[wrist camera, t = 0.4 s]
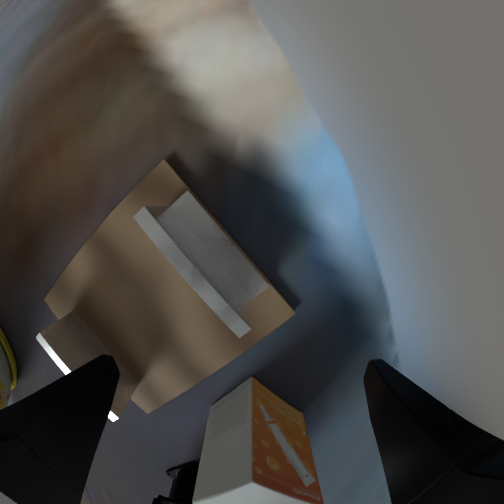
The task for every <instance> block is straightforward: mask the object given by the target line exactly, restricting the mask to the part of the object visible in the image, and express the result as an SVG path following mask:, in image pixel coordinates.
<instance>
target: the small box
mask: <svg viewBox="0 0 504 504" xmlns="http://www.w3.org/2000/svg"><path fill="white" fill-rule="evenodd" d="M192 503H193V504H324V503H323V499H322V495H321V490H320V486H319V481H318V477H317V472H316V468H315V463H314V459H313V455H312V450H311V446H310V442H309V438H308V433H307V429H306V424H305V420H304V416H303V413H301V412H300V411H298V410H296V409H295V408H293V407H292V406H290V405H289V404H287V403H286V402H285V401H283V400H282V399H281V398H279V397H278V396H276V395H275V394H274V393H272V392H271V391H270V390H269V389H267V388H266V387H265V386H263V385H262V384H261V383H260V382H258V381H257V380H256V379H255V378H254V377H250V378H248V379H247V380H246V381H245V382H243V383H242V384H241V385H239V386H238V387H237V388H235V389H234V390H233V391H231V392H230V393H228V394H227V395H226V396H224V397H223V398H221V399H220V400H219V401H217V402H216V403H214V404H213V405H212V406H211V407H210V412H209V417H208V422H207V427H206V432H205V437H204V443H203V449H202V454H201V459H200V464H199V469H198V475H197V480H196V486H195V491H194V496H193V500H192Z"/></svg>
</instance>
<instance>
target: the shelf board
mask: <svg viewBox="0 0 504 504" xmlns="http://www.w3.org/2000/svg"><path fill="white" fill-rule="evenodd" d="M187 190H188V191H189V192H190V193H191V194H192V195H193V196H194V198H195V199H196V200H197V201H198V202H199V203H200V205H201V206H202V207H203V208H204V209H205V211H206V212H207V213H208V214H209V215H210V216H211V218H212V219H213V220H214V221H215V222H216V223H217V225H218V226H219V227H220V228H221V229H222V230H223V232H224V233H225V234H226V235H227V236H228V237H229V239H230V240H231V241H232V242H233V243H234V245H235V246H236V247H237V248H238V249H239V250H240V252H241V253H242V254H243V255H244V256H245V257H246V258H247V260H248V261H249V262H250V263H251V264H252V265H253V267H254V268H255V269H256V270H257V271H258V272H259V274H260V275H261V276H262V277H263V278H264V279H265V281H266V282H267V283H268V284H269V287H267V288H266V289H265V290H264V291H262V292H261V293H260V294H259V295H257V296H256V297H255V298H254V299H252V300H251V330H250V331H249V332H247V333H246V334H245V335H243V336H242V337H240V338H238V336H237V335H236V334H235V333H234V332H233V331H232V330H231V329H230V328H229V327H228V326H227V325H226V324H225V323H224V322H223V321H222V320H221V319H220V318H219V317H218V316H217V315H216V313H215V312H214V311H213V310H212V309H211V308H210V307H209V306H208V305H207V304H206V303H205V302H204V300H203V299H202V298H201V297H200V296H199V295H198V294H197V293H196V292H195V290H194V289H193V288H192V287H191V286H190V285H189V284H188V283H187V281H186V280H185V279H184V278H183V277H182V276H181V275H180V273H179V272H178V271H177V270H176V269H175V268H174V267H173V265H172V264H171V263H170V262H169V261H168V259H167V258H166V257H165V256H164V255H163V254H162V252H161V251H160V250H159V249H158V248H157V246H156V245H155V244H154V243H153V241H152V240H151V239H150V238H149V237H148V235H147V234H146V233H145V232H144V230H143V229H142V228H141V227H140V225H139V224H138V223H137V222H136V220H135V219H134V218H133V217H134V216H135V215H136V214H137V213H138V212H139V211H140V210H141V209H142V208H143V207H144V206H171V205H172V204H173V203H174V202H175V201H177V200H178V199H179V198H180V197H181V196H182V195H183V194H184V193H185V192H186V191H187ZM44 300H45V302H46V303H47V305H48V306H49V307H50V309H51V310H52V312H53V313H54V314H55V316H56V317H57V318H58V320H59V319H61V318H63V317H64V316H66V315H67V314H69V313H70V312H72V311H75V312H76V313H77V314H78V316H79V317H80V318H81V319H82V321H83V322H84V323H85V324H86V326H87V327H88V328H89V329H90V330H91V332H92V333H93V334H94V335H95V336H96V337H97V339H98V340H99V341H100V342H101V343H102V344H103V345H104V347H105V348H106V349H107V350H108V351H109V352H110V353H111V354H112V355H113V356H114V357H115V358H116V360H117V361H118V362H119V363H120V364H121V365H122V366H123V367H124V368H125V369H126V370H127V371H128V372H129V373H130V374H131V375H132V376H133V377H134V378H135V379H136V380H137V381H139V382H140V383H139V385H138V386H137V388H136V390H135V391H134V393H133V395H132V396H131V398H130V399H131V400H133V401H134V402H135V403H136V404H137V405H138V406H139V407H140V408H142V409H143V410H144V411H145V412H146V413H147V414H148V413H150V412H152V411H154V410H155V409H157V408H159V407H160V406H162V405H164V404H165V403H167V402H169V401H170V400H172V399H174V398H175V397H177V396H179V395H180V394H182V393H183V392H185V391H187V390H188V389H190V388H191V387H193V386H195V385H196V384H198V383H199V382H201V381H202V380H204V379H205V378H207V377H208V376H210V375H211V374H213V373H214V372H216V371H217V370H219V369H220V368H222V367H223V366H225V365H226V364H228V363H229V362H231V361H232V360H234V359H235V358H236V357H238V356H239V355H241V354H242V353H244V352H245V351H246V350H248V349H249V348H251V347H252V346H253V345H255V344H256V343H258V342H259V341H260V340H262V339H263V338H264V337H266V336H267V335H268V334H270V333H271V332H272V331H274V330H275V329H276V328H278V327H279V326H280V325H282V324H283V323H284V322H286V321H287V320H288V319H290V318H291V317H292V316H293V315H295V314H296V313H295V311H294V309H293V308H292V307H291V306H290V305H289V304H288V302H287V301H286V300H285V299H284V298H283V297H282V295H281V294H280V293H279V292H278V291H277V290H276V289H275V287H274V286H273V285H272V284H271V283H270V282H269V280H268V279H267V278H266V277H265V276H264V275H263V273H262V272H261V271H260V270H259V269H258V268H257V266H256V265H255V264H254V263H253V262H252V261H251V259H250V258H249V257H248V256H247V255H246V254H245V252H244V251H243V250H242V249H241V248H240V247H239V245H238V244H237V243H236V242H235V241H234V240H233V238H232V237H231V236H230V235H229V234H228V233H227V231H226V230H225V229H224V228H223V227H222V226H221V224H220V223H219V222H218V221H217V220H216V218H215V217H214V216H213V215H212V214H211V213H210V211H209V210H208V209H207V208H206V207H205V206H204V204H203V203H202V202H201V201H200V200H199V199H198V197H197V196H196V195H195V194H194V193H193V191H192V190H191V189H190V188H189V187H188V186H187V184H186V183H185V182H184V181H183V180H182V178H181V177H180V176H179V175H178V174H177V173H176V171H175V170H174V169H173V168H172V167H171V165H170V164H169V163H168V162H167V161H166V160H162V161H161V162H160V163H159V164H158V165H157V166H156V167H155V168H154V169H153V170H152V171H151V172H150V173H149V174H148V175H147V176H146V177H145V178H144V179H143V180H142V181H141V182H140V183H139V184H138V185H137V186H136V187H135V188H134V189H133V190H132V191H131V192H130V193H129V194H128V195H127V196H126V197H125V198H124V199H123V200H122V201H121V202H120V203H119V205H118V206H117V207H116V208H115V209H114V210H113V211H112V212H111V213H110V214H109V216H108V217H107V218H106V219H105V220H104V221H103V222H102V224H101V225H100V226H99V227H98V228H97V229H96V231H95V232H94V233H93V234H92V235H91V237H90V238H89V239H88V240H87V241H86V243H85V244H84V245H83V246H82V248H81V249H80V250H79V251H78V253H77V254H76V255H75V257H74V258H73V259H72V261H71V262H70V263H69V265H68V266H67V267H66V269H65V270H64V271H63V273H62V274H61V275H60V277H59V278H58V280H57V281H56V282H55V284H54V285H53V287H52V288H51V290H50V291H49V293H48V294H47V296H46V297H45V299H44Z"/></svg>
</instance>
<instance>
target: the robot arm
mask: <svg viewBox="0 0 504 504" xmlns="http://www.w3.org/2000/svg"><path fill="white" fill-rule="evenodd" d="M119 378H120V372H119V369H118V367H117V364H116V362H115V359H114V357H113V356H112V355H107V354H102V355H100V356H98V357H96V358H95V359H93V360H91V361H89V362H88V363H86V364H84V365H82V366H81V367H79V368H77V369H75V370H74V371H72V372H70V373H68V374H67V375H65V376H63V377H61V378H60V379H58V380H56V381H54V382H53V383H51V384H49V385H47V386H45V387H44V388H42V389H40V390H38V391H37V392H35V393H34V394H31V395H29V396H28V397H26V398H24V399H22V400H20V401H18V402H16V403H14V404H12V405H10V406H7V407H5V408H3V409H0V504H80V502H81V499H82V494H83V491H84V488H85V484H86V481H87V477H88V474H89V471H90V468H91V465H92V462H93V458H94V455H95V452H96V449H97V447H98V444H99V441H100V438H101V435H102V432H103V430H104V427H105V424H106V421H107V419H108V416H109V413H110V410H111V407H112V404H113V400H114V396H115V392H116V389H117V385H118V381H119ZM364 386H365V392H366V398H367V403H368V409H369V415H370V420H371V424H372V427H373V431H374V434H375V438H376V441H377V445H378V449H379V452H380V456H381V460H382V464H383V468H384V472H385V476H386V480H387V485H388V489H389V493H390V498H391V503H392V504H504V440H502V439H500V438H498V437H496V436H493V435H492V434H490V433H488V432H486V431H484V430H483V429H481V428H479V427H477V426H476V425H474V424H472V423H470V422H469V421H467V420H466V419H464V418H463V417H461V416H460V415H458V414H457V413H455V412H454V411H453V410H451V409H449V408H448V407H447V406H445V405H444V404H443V403H441V402H440V401H438V400H437V399H436V398H434V397H433V396H432V395H430V394H429V393H427V392H426V391H425V390H423V389H422V388H420V387H419V386H418V385H416V384H415V383H413V382H412V381H411V380H409V379H408V378H407V377H405V376H404V375H403V374H401V373H400V372H398V371H397V370H396V369H394V368H393V367H392V366H390V365H389V364H387V363H386V362H385V361H383V360H382V359H373V360H370V361H369V362H368V365H367V369H366V372H365V375H364ZM198 469H199V463H197V462H190V463H188V464H185V465H182V466H179V467H176V468H173V469H170V470H167V471H166V475H168V476H170V477H171V478H173V479H174V480H173V483H172V487H171V491H170V495H169V498H167V497H163V496H162V495H159V496H158V498H154V499H153V502H152V504H193V503H192V500H193V496H194V491H195V486H196V480H197V475H198Z"/></svg>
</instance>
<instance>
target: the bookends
mask: <svg viewBox="0 0 504 504" xmlns="http://www.w3.org/2000/svg"><path fill="white" fill-rule="evenodd" d="M133 218H134V219H135V220H136V222H137V223H138V224H139V225H140V227H141V228H142V229H143V230H144V232H145V233H146V234H147V235H148V237H149V238H150V239H151V240H152V241H153V243H154V244H155V245H156V246H157V248H158V249H159V250H160V251H161V252H162V254H163V255H164V256H165V257H166V258H167V259H168V261H169V262H170V263H171V264H172V265H173V267H174V268H175V269H176V270H177V271H178V272H179V273H180V275H181V276H182V277H183V278H184V279H185V280H186V281H187V283H188V284H189V285H190V286H191V287H192V288H193V289H194V290H195V292H196V293H197V294H198V295H199V296H200V297H201V298H202V299H203V300H204V302H205V303H206V304H207V305H208V306H209V307H210V308H211V309H212V310H213V311H214V312H215V313H216V315H217V316H218V317H219V318H220V319H221V320H222V321H223V322H224V323H225V324H226V325H227V326H228V327H229V328H230V329H231V330H232V331H233V332H234V333H235V334H236V335H237V336H238V338H240V337H242V336H243V335H245V334H246V333H247V332H249V331H250V330H251V300H252V299H254V298H255V297H256V296H257V295H259V294H260V293H261V292H262V291H264V290H265V289H266V288H267V287H269V284H268V283H267V282H266V281H265V279H264V278H263V277H262V276H261V275H260V274H259V272H258V271H257V270H256V269H255V268H254V267H253V265H252V264H251V263H250V262H249V261H248V260H247V258H246V257H245V256H244V255H243V254H242V253H241V252H240V250H239V249H238V248H237V247H236V246H235V245H234V243H233V242H232V241H231V240H230V239H229V237H228V236H227V235H226V234H225V233H224V232H223V230H222V229H221V228H220V227H219V226H218V225H217V223H216V222H215V221H214V220H213V219H212V218H211V216H210V215H209V214H208V213H207V212H206V211H205V209H204V208H203V207H202V206H201V205H200V203H199V202H198V201H197V200H196V199H195V198H194V196H193V195H192V194H191V193H190V192H189V191H188V190H187V191H186V192H185V193H184V194H183V195H182V196H181V197H180V198H179V199H178V200H177V201H175V202H174V203H173V204H172V205H171V206H144V207H143V208H142V209H141V210H140V211H139V212H138V213H137V214H136V215H135V216H134V217H133ZM36 339H37V340H38V341H39V343H40V344H41V345H42V347H43V348H44V349H45V351H46V352H47V353H48V354H49V356H50V357H51V358H52V359H53V360H54V362H55V363H56V364H57V365H58V366H59V368H60V369H61V370H62V371H63V372H64V373H65V374H66V375H67V374H68V373H70V372H72V371H74V370H75V369H77V368H79V367H81V366H82V365H84V364H86V363H88V362H89V361H91V360H93V359H95V358H96V357H98V356H100V355H102V354H107V355H112V354H111V353H110V352H109V351H108V350H107V349H106V348H105V347H104V345H103V344H102V343H101V342H100V341H99V340H98V339H97V337H96V336H95V335H94V334H93V333H92V332H91V330H90V329H89V328H88V327H87V326H86V324H85V323H84V322H83V321H82V319H81V318H80V317H79V316H78V314H77V313H76V312H75V311H72V312H70V313H69V314H67V315H66V316H64V317H63V318H61V319H59V320H58V321H56V322H55V323H53V324H52V325H50V326H49V327H47V328H46V329H44V330H42V331H41V332H39V334H38V335H37V337H36ZM112 356H113V355H112ZM113 357H114V356H113ZM114 359H115V362H116V364H117V367H118V369H119V372H120V378H119V381H118V385H117V389H116V392H115V396H114V400H113V404H112V407H111V410H110V413H109V416H108V417H109V418H110V419H111V420H112V421H115V420H117V419H118V418H119V417H120V415H121V413H122V412H123V410H124V408H125V407H126V405H127V403H128V401H129V400H130V398H131V396H132V395H133V393H134V391H135V390H136V388H137V386H138V385H139V383H140V382H139V381H137V380H136V379H135V378H134V377H133V376H132V375H131V374H130V373H129V372H128V371H127V370H126V369H125V368H124V367H123V366H122V365H121V364H120V363H119V362H118V361H117V360H116V358H115V357H114Z"/></svg>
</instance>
